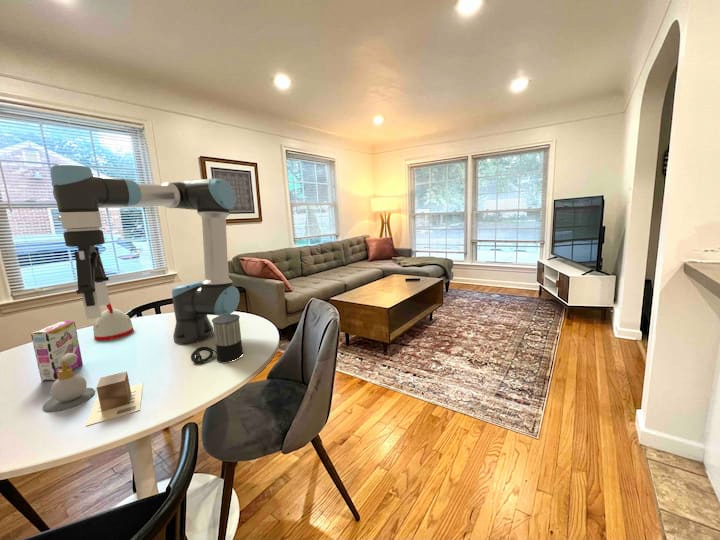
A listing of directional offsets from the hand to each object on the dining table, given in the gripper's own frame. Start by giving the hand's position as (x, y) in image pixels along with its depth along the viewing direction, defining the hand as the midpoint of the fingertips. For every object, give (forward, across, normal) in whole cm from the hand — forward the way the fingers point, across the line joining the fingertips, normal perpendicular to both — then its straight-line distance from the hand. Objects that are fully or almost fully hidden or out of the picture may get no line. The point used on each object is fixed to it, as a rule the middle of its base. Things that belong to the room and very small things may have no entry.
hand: (99, 311), depth 82 cm
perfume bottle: (+26, -11, -12) cm, 31 cm away
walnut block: (+26, 0, 0) cm, 27 cm away
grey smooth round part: (+27, -10, -12) cm, 31 cm away
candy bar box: (+27, -33, -18) cm, 46 cm away
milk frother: (+27, -13, +28) cm, 41 cm away
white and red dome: (+27, -67, -8) cm, 73 cm away
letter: (+27, 0, 0) cm, 27 cm away
